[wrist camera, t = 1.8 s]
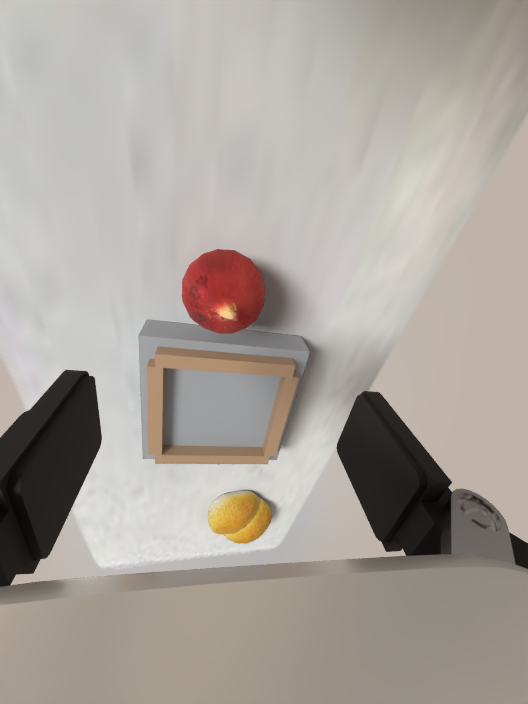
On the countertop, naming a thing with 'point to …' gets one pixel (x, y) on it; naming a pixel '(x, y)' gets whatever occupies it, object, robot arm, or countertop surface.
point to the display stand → (216, 393)
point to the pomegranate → (223, 291)
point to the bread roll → (239, 516)
